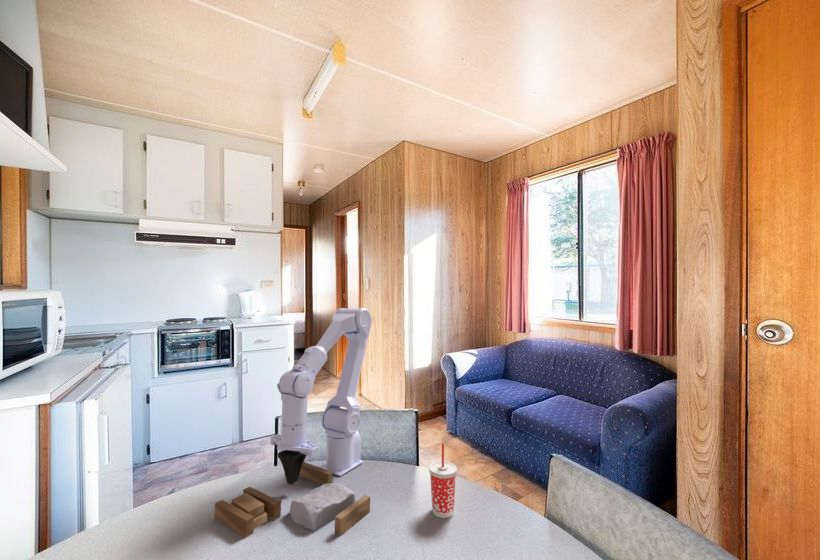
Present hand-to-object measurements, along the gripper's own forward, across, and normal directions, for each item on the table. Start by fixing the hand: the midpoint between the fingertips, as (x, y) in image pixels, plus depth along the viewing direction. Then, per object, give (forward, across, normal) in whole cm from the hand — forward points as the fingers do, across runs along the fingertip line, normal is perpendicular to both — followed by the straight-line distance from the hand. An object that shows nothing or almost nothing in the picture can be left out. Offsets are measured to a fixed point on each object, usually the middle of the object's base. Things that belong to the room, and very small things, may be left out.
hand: (292, 482), depth 77 cm
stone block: (+3, +10, -1) cm, 11 cm away
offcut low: (+3, 0, -11) cm, 12 cm away
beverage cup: (+3, +33, +13) cm, 36 cm away
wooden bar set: (+3, +7, -3) cm, 8 cm away
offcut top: (+1, 0, -11) cm, 11 cm away
